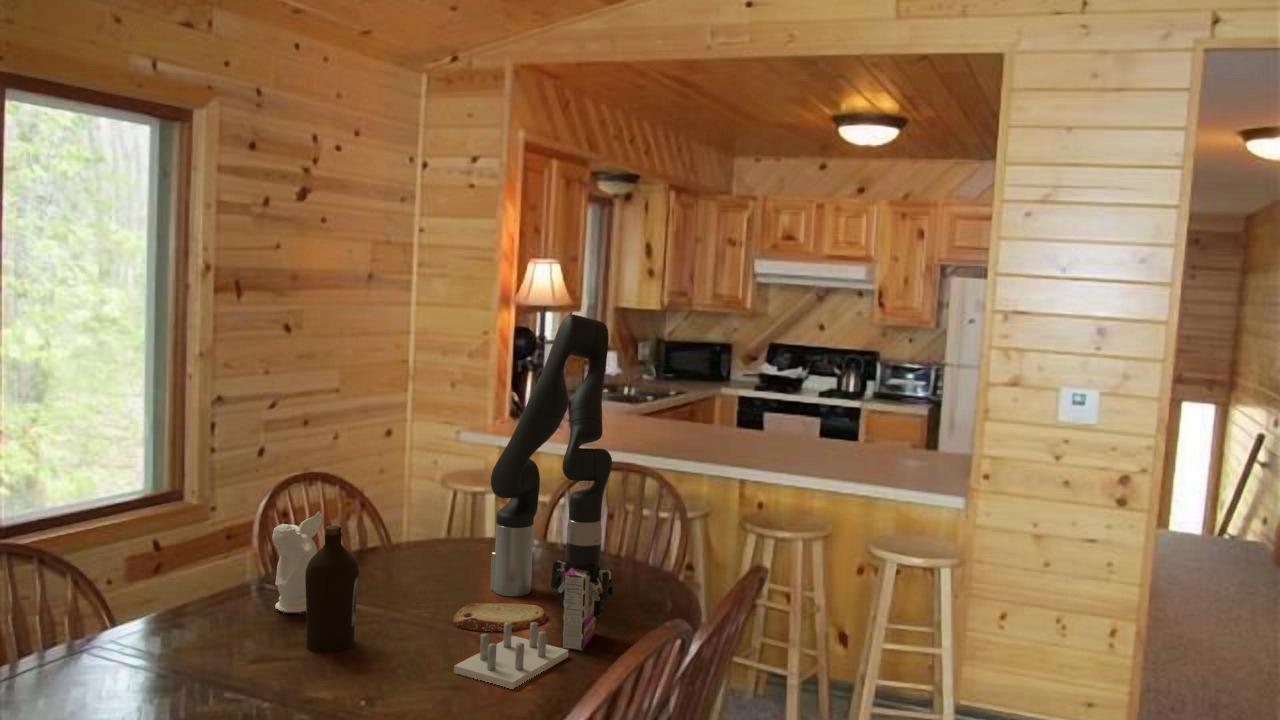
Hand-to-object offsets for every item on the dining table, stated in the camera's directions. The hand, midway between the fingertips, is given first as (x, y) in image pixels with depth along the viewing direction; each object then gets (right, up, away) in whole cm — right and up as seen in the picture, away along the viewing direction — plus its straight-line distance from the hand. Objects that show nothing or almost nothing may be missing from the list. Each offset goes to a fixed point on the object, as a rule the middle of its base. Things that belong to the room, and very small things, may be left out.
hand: (580, 612), depth 217 cm
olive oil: (-52, -5, -9) cm, 53 cm away
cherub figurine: (-67, -2, +13) cm, 69 cm away
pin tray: (-13, -7, -14) cm, 21 cm away
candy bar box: (-1, -7, +1) cm, 7 cm away
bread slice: (-19, -5, +11) cm, 22 cm away
